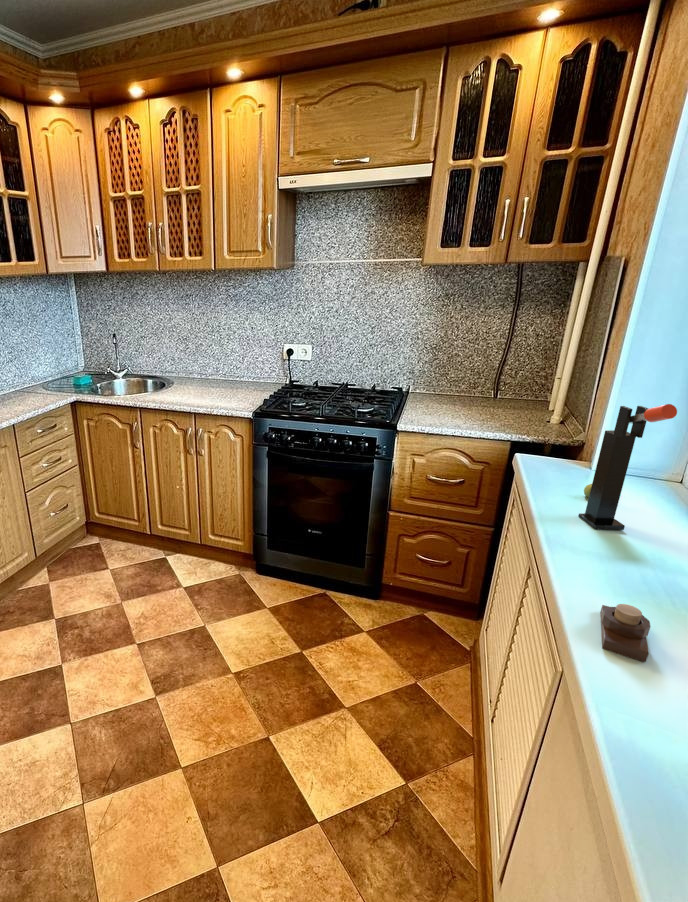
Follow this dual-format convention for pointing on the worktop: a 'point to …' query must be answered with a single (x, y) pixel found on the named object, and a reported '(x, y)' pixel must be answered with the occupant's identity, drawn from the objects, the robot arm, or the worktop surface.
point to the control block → (624, 635)
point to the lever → (655, 414)
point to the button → (627, 614)
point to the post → (612, 471)
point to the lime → (587, 490)
